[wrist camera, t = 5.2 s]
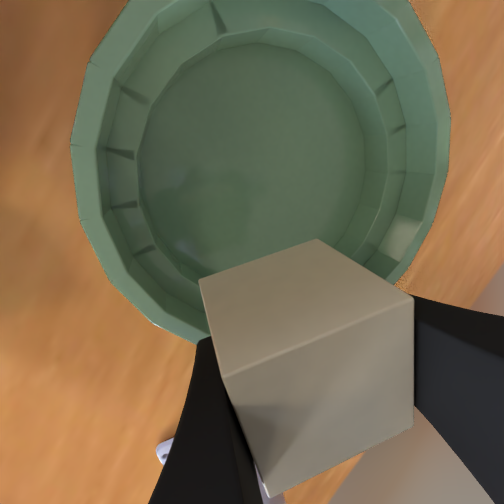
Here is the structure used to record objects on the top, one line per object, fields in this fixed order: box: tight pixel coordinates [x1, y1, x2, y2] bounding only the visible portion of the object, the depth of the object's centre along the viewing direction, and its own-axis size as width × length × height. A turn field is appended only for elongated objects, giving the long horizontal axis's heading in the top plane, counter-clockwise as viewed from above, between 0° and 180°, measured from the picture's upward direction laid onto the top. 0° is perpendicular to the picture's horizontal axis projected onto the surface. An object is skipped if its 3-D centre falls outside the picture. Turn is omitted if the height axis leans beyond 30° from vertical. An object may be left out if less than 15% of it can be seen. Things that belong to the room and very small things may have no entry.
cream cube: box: [198, 239, 414, 498], centre depth 9 cm, size 4×4×4 cm
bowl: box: [70, 0, 451, 345], centre depth 14 cm, size 17×17×4 cm
